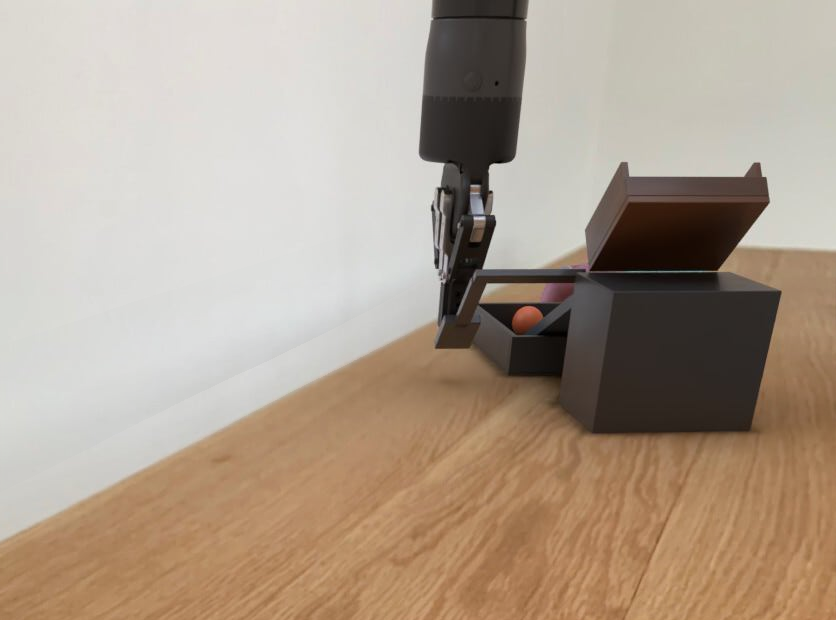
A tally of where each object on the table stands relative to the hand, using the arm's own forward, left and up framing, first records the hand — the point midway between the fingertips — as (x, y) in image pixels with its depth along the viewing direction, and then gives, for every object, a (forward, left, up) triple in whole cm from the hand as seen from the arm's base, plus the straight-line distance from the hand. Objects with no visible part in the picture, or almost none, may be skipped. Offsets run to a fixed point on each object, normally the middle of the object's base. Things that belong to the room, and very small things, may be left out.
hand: (451, 330), depth 93 cm
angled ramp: (-13, -2, -4) cm, 14 cm away
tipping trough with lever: (-9, +7, +5) cm, 12 cm away
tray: (-12, -10, -4) cm, 16 cm away
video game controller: (-18, -27, -5) cm, 32 cm away
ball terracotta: (-10, -16, -2) cm, 19 cm away
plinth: (-14, +12, -4) cm, 19 cm away
